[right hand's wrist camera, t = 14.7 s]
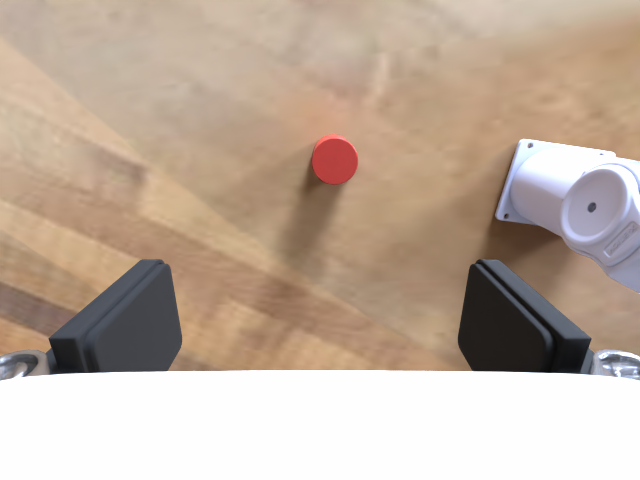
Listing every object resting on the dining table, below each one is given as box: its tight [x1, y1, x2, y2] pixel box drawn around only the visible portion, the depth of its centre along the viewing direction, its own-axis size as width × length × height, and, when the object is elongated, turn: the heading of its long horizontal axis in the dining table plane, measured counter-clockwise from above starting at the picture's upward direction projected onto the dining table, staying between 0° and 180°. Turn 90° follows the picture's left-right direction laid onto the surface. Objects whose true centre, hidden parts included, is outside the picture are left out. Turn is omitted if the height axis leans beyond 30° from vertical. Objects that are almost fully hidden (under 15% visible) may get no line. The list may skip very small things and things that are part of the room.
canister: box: [312, 135, 358, 185], centre depth 32 cm, size 4×4×5 cm
